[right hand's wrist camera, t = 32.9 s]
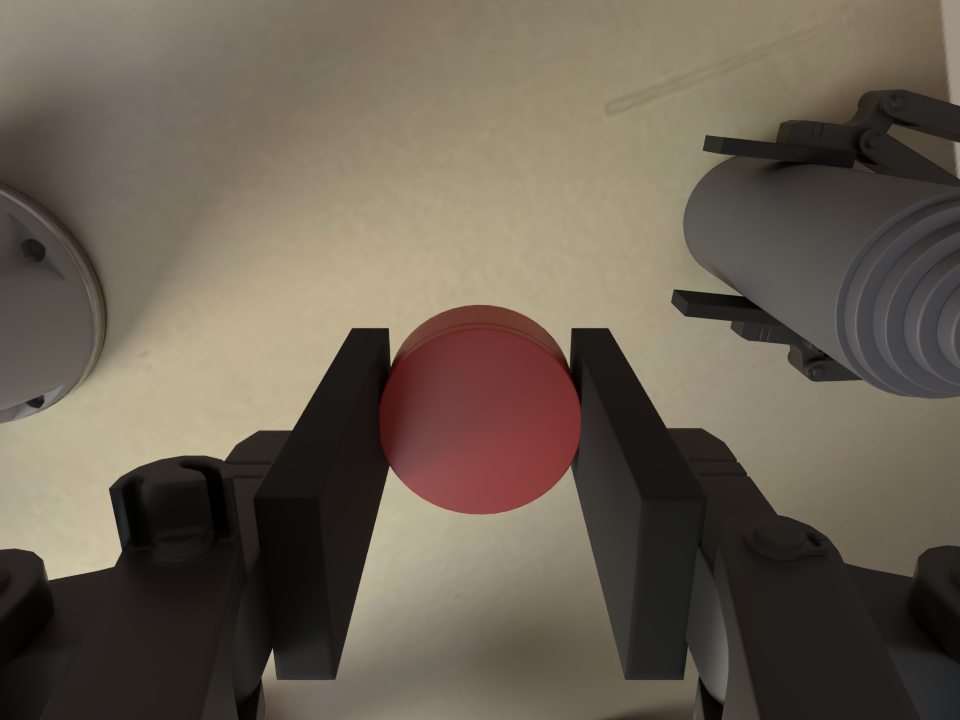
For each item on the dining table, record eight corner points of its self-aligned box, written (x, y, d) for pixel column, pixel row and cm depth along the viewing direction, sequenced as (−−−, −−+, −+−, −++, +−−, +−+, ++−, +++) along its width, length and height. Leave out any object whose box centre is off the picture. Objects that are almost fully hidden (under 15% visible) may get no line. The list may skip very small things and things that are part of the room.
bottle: (830, 223, 41) (1274, 367, 18) (729, 302, 43) (1019, 524, 20) (762, 126, 39) (1163, 152, 16) (658, 213, 41) (890, 347, 18)
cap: (476, 264, 13) (475, 284, 12) (610, 389, 14) (625, 423, 13) (350, 395, 14) (334, 429, 13) (483, 504, 15) (483, 549, 14)
